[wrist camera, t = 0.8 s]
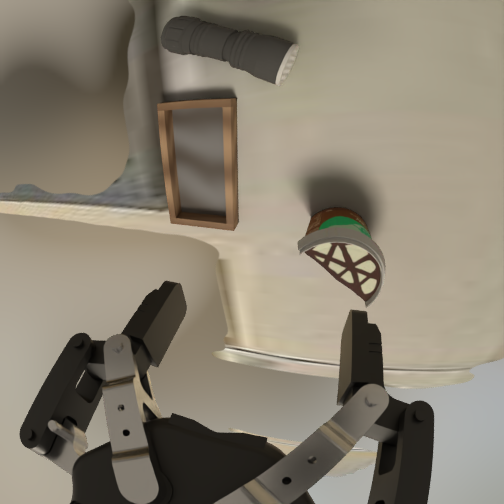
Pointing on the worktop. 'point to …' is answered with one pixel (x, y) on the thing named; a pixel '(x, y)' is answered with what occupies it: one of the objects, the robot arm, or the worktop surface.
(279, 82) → the flashlight
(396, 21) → the worktop surface
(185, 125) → the open wooden frame
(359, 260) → the food container
